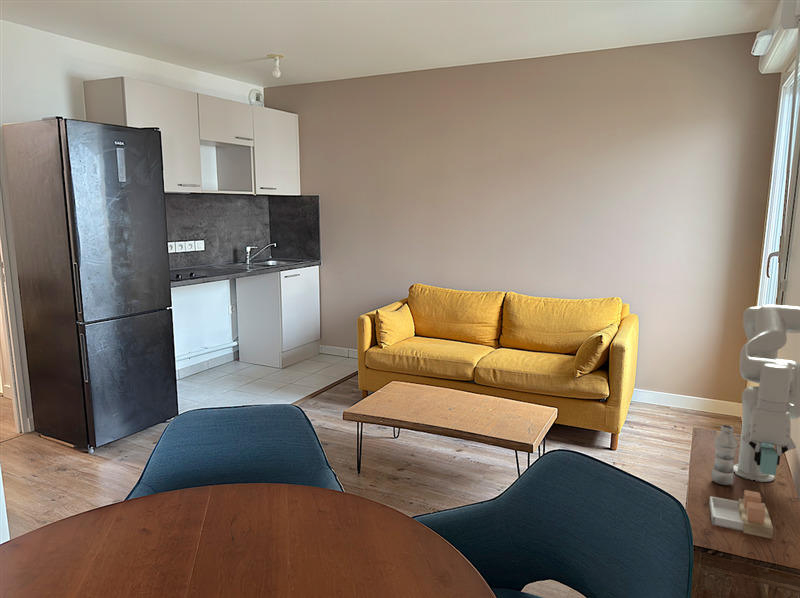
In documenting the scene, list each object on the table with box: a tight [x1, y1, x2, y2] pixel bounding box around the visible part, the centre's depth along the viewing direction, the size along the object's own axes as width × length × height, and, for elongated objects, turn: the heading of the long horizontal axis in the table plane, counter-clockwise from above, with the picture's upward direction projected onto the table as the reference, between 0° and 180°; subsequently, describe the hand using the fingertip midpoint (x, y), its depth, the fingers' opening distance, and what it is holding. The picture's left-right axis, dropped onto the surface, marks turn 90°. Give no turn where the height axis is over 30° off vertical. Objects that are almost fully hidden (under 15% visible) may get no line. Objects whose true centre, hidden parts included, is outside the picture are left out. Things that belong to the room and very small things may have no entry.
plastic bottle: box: [711, 424, 739, 486], centre depth 192 cm, size 6×7×20 cm
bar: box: [759, 443, 778, 476], centre depth 170 cm, size 12×4×6 cm, turn 154°
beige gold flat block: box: [737, 498, 774, 539], centre depth 168 cm, size 16×7×3 cm, turn 155°
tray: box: [708, 495, 744, 532], centre depth 171 cm, size 14×8×2 cm, turn 155°
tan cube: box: [742, 489, 762, 508], centre depth 172 cm, size 4×4×4 cm
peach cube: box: [746, 501, 765, 524], centre depth 164 cm, size 4×4×4 cm
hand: (766, 464), depth 171 cm, fingers closed on bar, 3 cm apart
